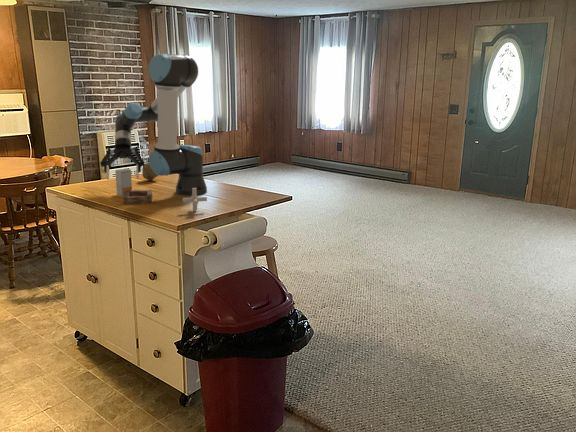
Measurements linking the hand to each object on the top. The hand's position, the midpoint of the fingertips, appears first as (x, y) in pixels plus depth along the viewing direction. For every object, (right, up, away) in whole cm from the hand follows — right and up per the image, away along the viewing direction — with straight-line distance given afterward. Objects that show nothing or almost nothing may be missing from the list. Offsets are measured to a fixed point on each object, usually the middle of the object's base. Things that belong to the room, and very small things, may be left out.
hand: (122, 177), depth 239 cm
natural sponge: (+4, +1, +34) cm, 35 cm away
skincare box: (0, -8, +2) cm, 8 cm away
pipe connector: (+39, -16, -24) cm, 49 cm away
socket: (+10, -11, -8) cm, 17 cm away
